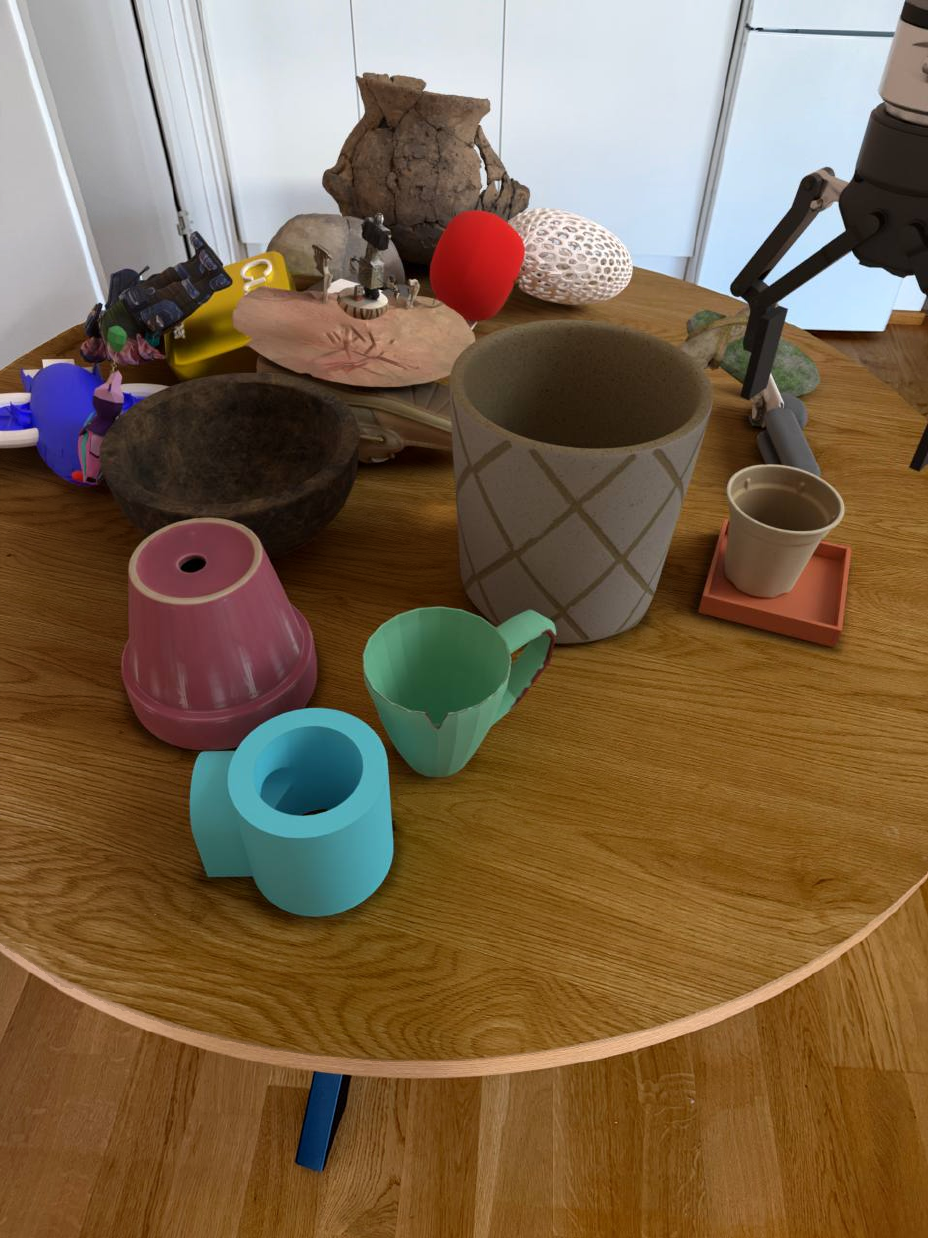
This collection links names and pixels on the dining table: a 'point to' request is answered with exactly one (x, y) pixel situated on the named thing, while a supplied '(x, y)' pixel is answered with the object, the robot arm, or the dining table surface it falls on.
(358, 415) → the boat shoe
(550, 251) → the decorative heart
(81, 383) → the toy airplane
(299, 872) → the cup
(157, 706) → the flower pot
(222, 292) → the element tile
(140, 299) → the action figure
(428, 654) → the mug
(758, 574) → the flower pot
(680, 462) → the planter
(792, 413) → the can opener
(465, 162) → the clay pot
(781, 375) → the stone axe
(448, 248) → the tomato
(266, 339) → the sculpture
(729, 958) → the dining table surface
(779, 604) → the pot tray
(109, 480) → the bowl
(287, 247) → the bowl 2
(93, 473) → the toy
